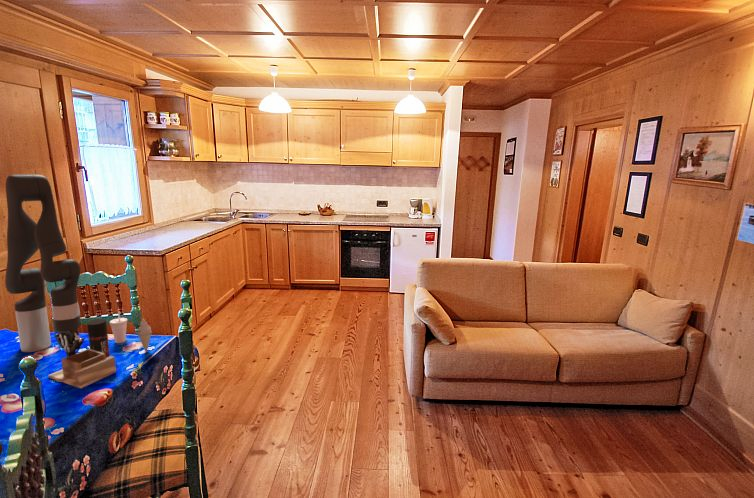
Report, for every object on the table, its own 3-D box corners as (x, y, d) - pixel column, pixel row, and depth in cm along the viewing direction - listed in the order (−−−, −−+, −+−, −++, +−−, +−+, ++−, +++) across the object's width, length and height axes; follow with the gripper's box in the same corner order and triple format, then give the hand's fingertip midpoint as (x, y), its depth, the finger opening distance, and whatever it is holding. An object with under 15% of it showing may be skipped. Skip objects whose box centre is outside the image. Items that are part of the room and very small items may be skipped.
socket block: (63, 376, 130) (61, 359, 129) (90, 364, 139) (88, 348, 138) (80, 381, 127) (78, 364, 126) (107, 369, 136) (105, 353, 135)
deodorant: (101, 361, 143) (97, 325, 141) (87, 360, 144) (83, 324, 141) (113, 354, 149) (109, 319, 146) (99, 353, 150) (95, 318, 147)
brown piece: (48, 377, 131) (46, 361, 130) (85, 362, 142) (83, 348, 141) (80, 388, 125) (78, 372, 124) (116, 371, 137) (114, 356, 135)
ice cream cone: (140, 349, 154) (137, 315, 151) (154, 347, 156) (151, 314, 153) (137, 354, 150) (134, 320, 147) (152, 353, 152) (149, 318, 149)
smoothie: (120, 345, 157) (117, 314, 155) (107, 343, 158) (104, 312, 156) (132, 339, 163) (130, 309, 161) (120, 337, 165) (117, 307, 162)
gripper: (42, 315, 130) (48, 361, 133) (66, 322, 126) (72, 368, 129) (66, 309, 137) (71, 352, 140) (90, 314, 133) (95, 359, 136)
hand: (71, 360), depth 135 cm, fingers closed
